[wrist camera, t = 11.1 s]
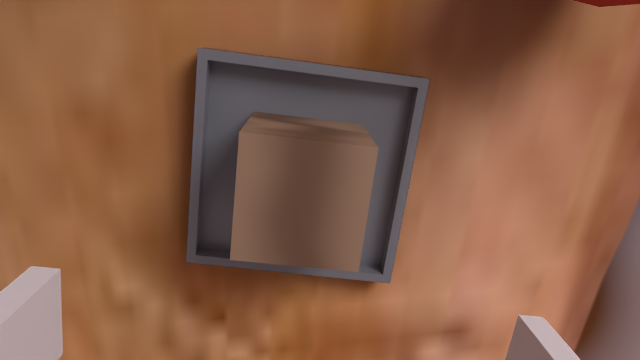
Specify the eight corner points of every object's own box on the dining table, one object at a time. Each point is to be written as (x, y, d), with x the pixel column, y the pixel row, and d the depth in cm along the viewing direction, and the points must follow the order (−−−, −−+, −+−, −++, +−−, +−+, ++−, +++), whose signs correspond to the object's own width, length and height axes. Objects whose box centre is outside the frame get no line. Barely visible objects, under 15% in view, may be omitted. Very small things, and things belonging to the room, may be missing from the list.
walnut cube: (245, 213, 31) (229, 259, 25) (254, 111, 29) (239, 131, 23) (347, 223, 32) (358, 272, 25) (362, 124, 30) (378, 147, 23)
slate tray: (192, 250, 33) (186, 262, 31) (204, 47, 29) (197, 48, 27) (385, 271, 34) (389, 283, 32) (422, 77, 30) (429, 79, 28)
